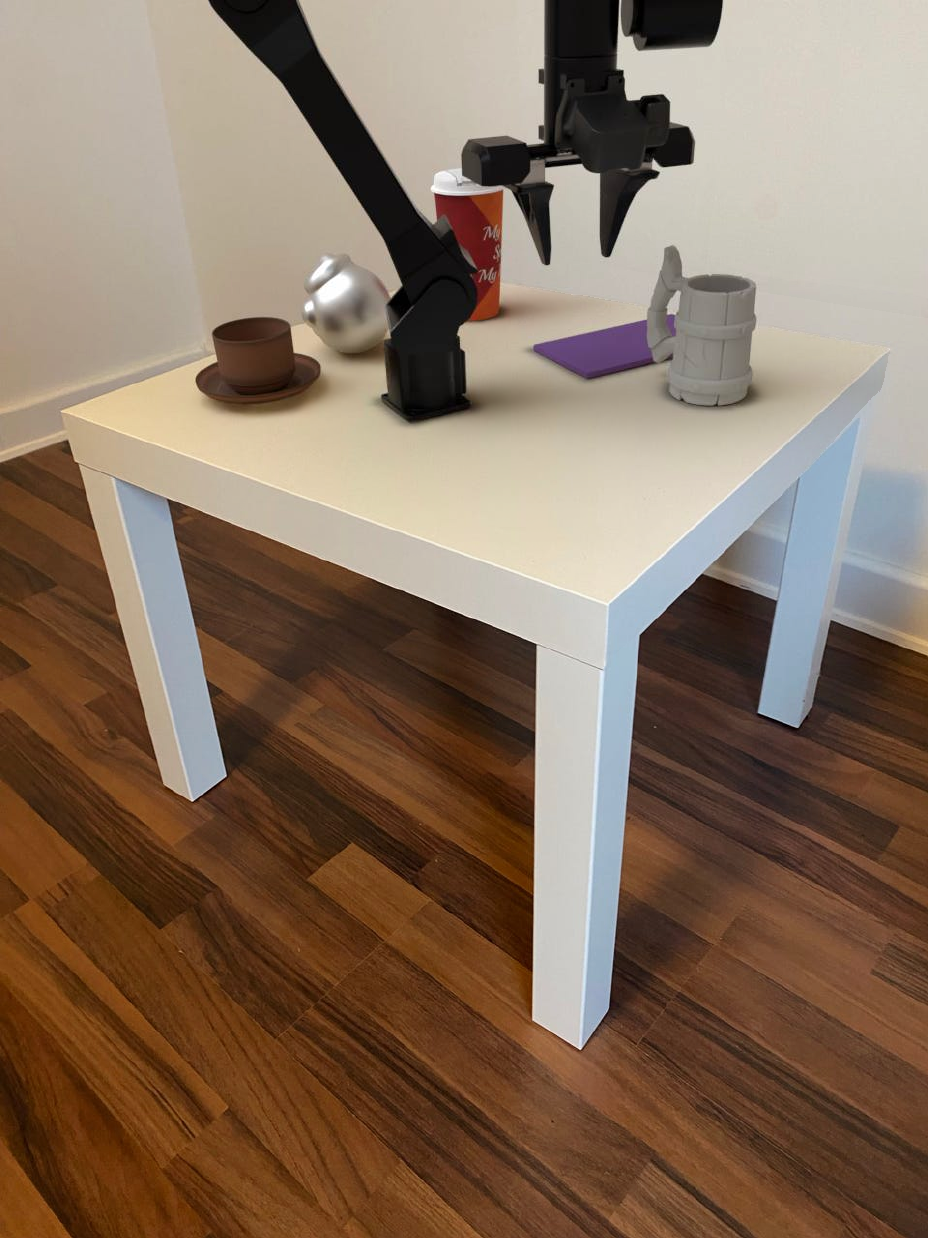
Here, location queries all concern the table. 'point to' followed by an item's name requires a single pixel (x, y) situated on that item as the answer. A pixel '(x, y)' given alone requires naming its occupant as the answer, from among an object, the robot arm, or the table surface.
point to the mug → (703, 333)
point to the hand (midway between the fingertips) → (576, 260)
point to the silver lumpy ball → (345, 304)
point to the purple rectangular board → (604, 349)
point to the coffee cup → (475, 231)
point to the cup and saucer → (256, 363)
